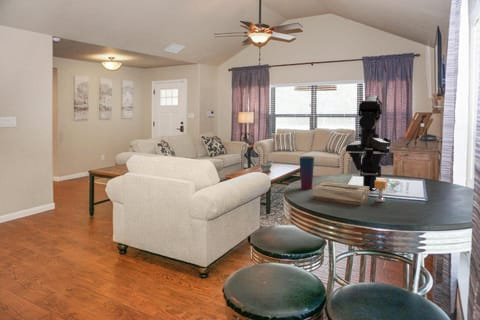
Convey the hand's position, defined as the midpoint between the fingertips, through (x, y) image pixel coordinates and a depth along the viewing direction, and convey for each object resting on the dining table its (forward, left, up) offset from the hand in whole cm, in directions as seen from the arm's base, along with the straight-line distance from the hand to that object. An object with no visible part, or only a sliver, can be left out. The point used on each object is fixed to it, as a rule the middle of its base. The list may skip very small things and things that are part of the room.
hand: (366, 170), depth 145 cm
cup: (-11, -30, -13) cm, 35 cm away
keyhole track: (0, -10, -13) cm, 17 cm away
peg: (-4, +5, -13) cm, 14 cm away
